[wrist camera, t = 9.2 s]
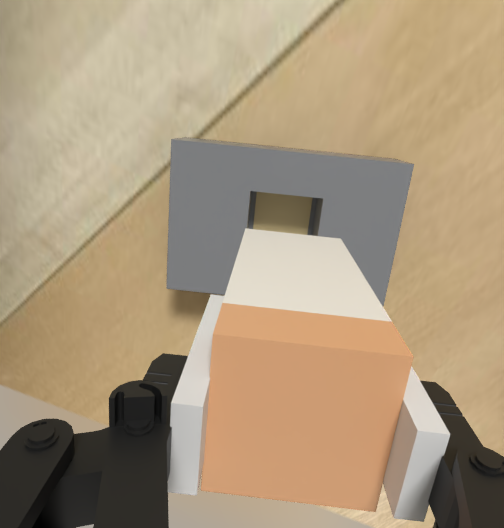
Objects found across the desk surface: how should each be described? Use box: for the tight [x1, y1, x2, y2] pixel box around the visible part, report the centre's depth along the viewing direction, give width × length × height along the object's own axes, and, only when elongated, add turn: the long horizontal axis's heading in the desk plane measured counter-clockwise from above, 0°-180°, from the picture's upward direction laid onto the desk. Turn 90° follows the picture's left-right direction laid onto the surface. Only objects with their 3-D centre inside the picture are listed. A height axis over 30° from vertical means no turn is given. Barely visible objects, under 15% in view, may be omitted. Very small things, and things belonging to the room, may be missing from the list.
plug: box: [201, 228, 413, 512], centre depth 17 cm, size 5×5×12 cm
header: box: [167, 137, 414, 306], centre depth 35 cm, size 18×12×5 cm, turn 84°
